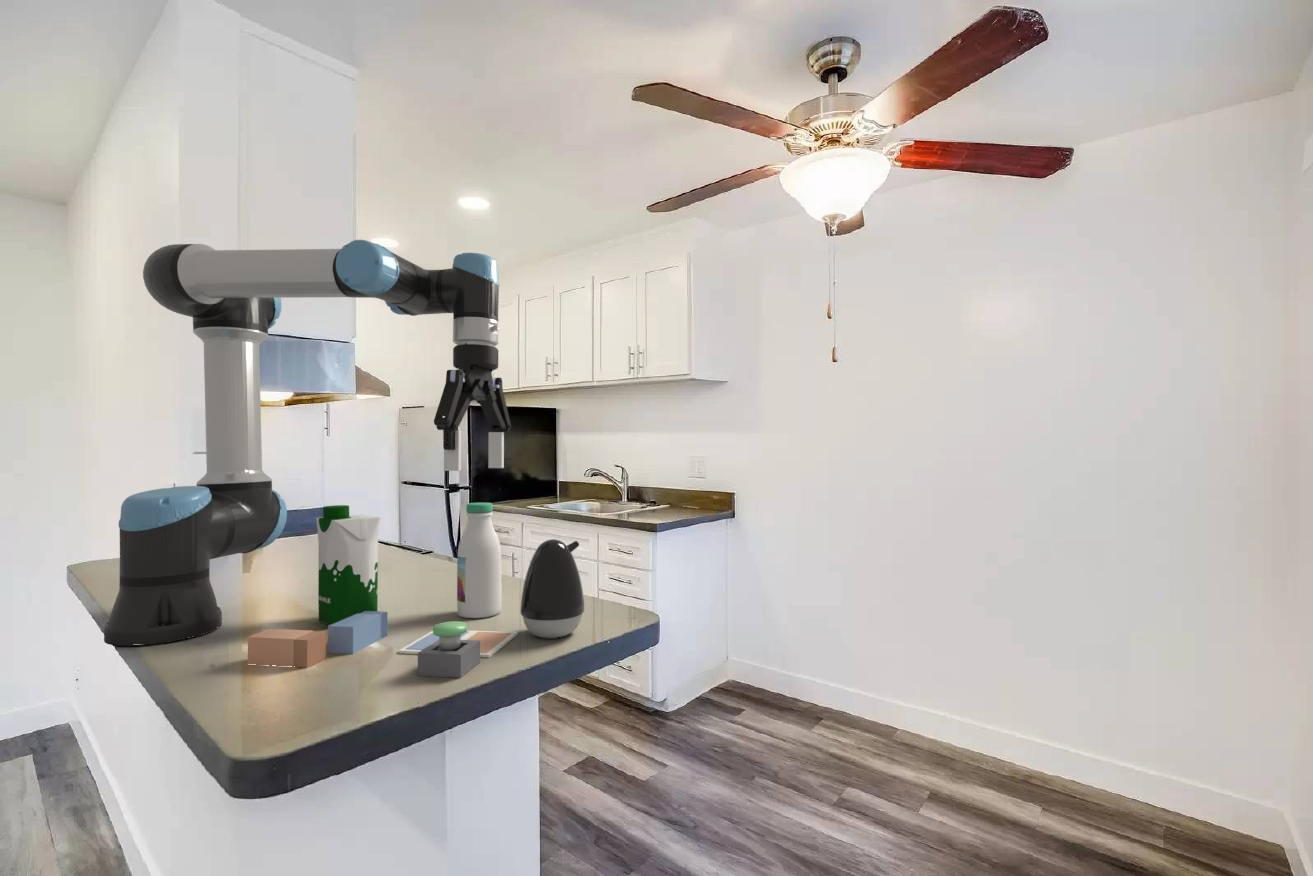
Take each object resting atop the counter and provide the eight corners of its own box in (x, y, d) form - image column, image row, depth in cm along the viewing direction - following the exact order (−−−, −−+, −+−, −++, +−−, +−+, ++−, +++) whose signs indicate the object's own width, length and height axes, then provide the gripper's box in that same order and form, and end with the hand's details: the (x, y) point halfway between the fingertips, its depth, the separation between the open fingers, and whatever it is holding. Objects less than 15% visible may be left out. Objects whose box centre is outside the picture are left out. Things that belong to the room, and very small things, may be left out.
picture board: (398, 653, 92) (398, 649, 92) (435, 631, 103) (435, 628, 103) (489, 657, 90) (489, 654, 90) (517, 635, 101) (517, 631, 101)
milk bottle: (507, 608, 117) (507, 501, 118) (492, 620, 110) (492, 505, 110) (467, 607, 118) (467, 501, 118) (449, 619, 110) (450, 504, 111)
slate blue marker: (353, 654, 92) (353, 627, 92) (328, 653, 92) (328, 626, 93) (387, 636, 101) (388, 611, 101) (364, 635, 101) (364, 610, 101)
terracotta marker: (247, 666, 87) (247, 637, 87) (269, 656, 91) (269, 628, 91) (306, 669, 86) (306, 639, 86) (326, 659, 90) (326, 631, 90)
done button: (426, 651, 84) (426, 629, 84) (442, 640, 88) (442, 620, 88) (457, 652, 83) (457, 631, 83) (472, 642, 87) (472, 622, 87)
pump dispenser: (598, 633, 102) (598, 538, 102) (546, 648, 94) (546, 546, 94) (559, 621, 109) (559, 533, 109) (507, 634, 101) (507, 539, 101)
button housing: (417, 675, 83) (417, 652, 83) (439, 660, 89) (439, 638, 89) (460, 677, 82) (460, 654, 82) (480, 662, 88) (480, 640, 88)
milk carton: (310, 621, 109) (311, 505, 110) (363, 610, 116) (363, 502, 117) (332, 630, 104) (333, 508, 104) (386, 618, 111) (386, 505, 111)
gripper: (452, 332, 95) (452, 472, 95) (529, 355, 119) (529, 467, 119) (410, 334, 97) (409, 471, 97) (494, 356, 121) (493, 466, 121)
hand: (475, 469), depth 108 cm, fingers open, 13 cm apart
